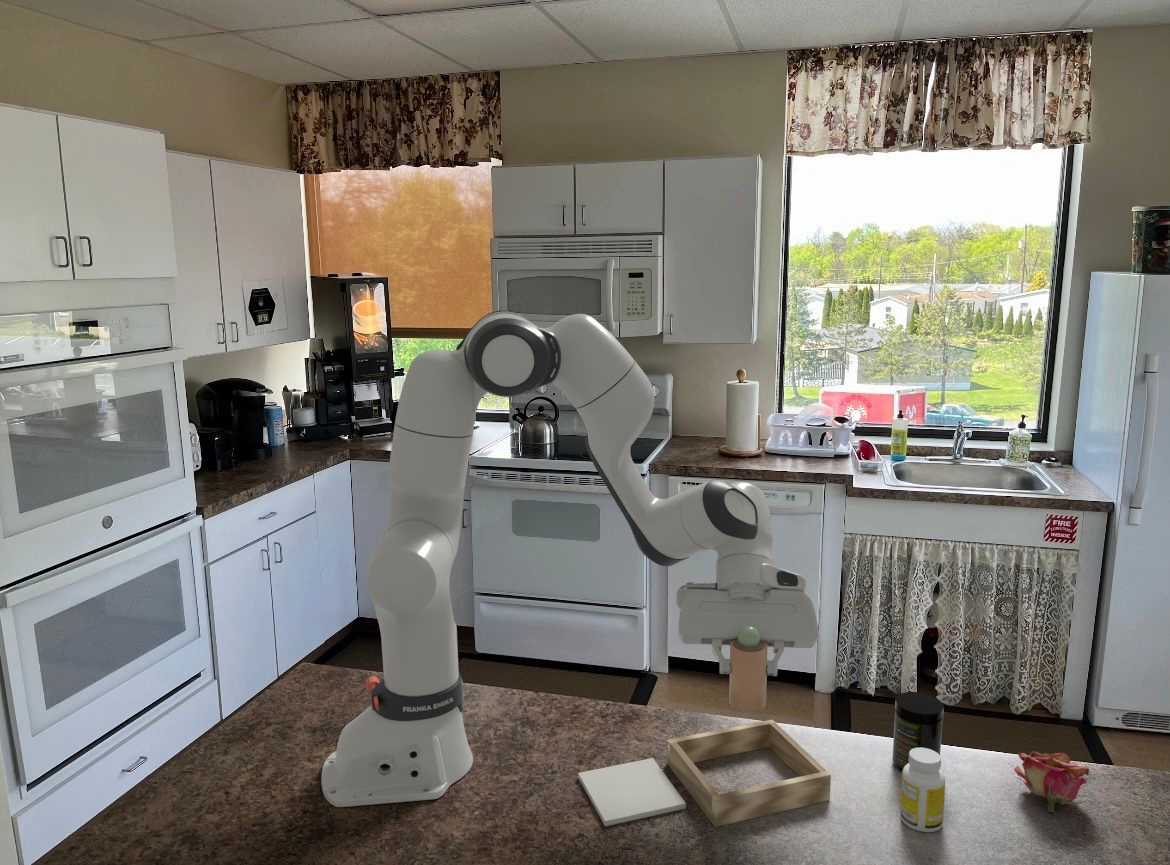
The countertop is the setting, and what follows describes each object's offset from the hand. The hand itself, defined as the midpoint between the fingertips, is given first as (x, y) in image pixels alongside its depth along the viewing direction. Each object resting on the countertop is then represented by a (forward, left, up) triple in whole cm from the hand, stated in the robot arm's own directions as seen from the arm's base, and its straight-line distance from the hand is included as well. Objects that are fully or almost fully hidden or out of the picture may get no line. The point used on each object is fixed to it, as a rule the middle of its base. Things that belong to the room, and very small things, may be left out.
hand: (748, 673), depth 122 cm
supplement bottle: (+18, -15, -18) cm, 30 cm away
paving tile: (-17, +4, -17) cm, 24 cm away
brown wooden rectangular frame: (0, +1, -17) cm, 17 cm away
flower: (+38, -17, -18) cm, 46 cm away
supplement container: (+26, -4, -18) cm, 32 cm away
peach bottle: (0, +1, -5) cm, 5 cm away
